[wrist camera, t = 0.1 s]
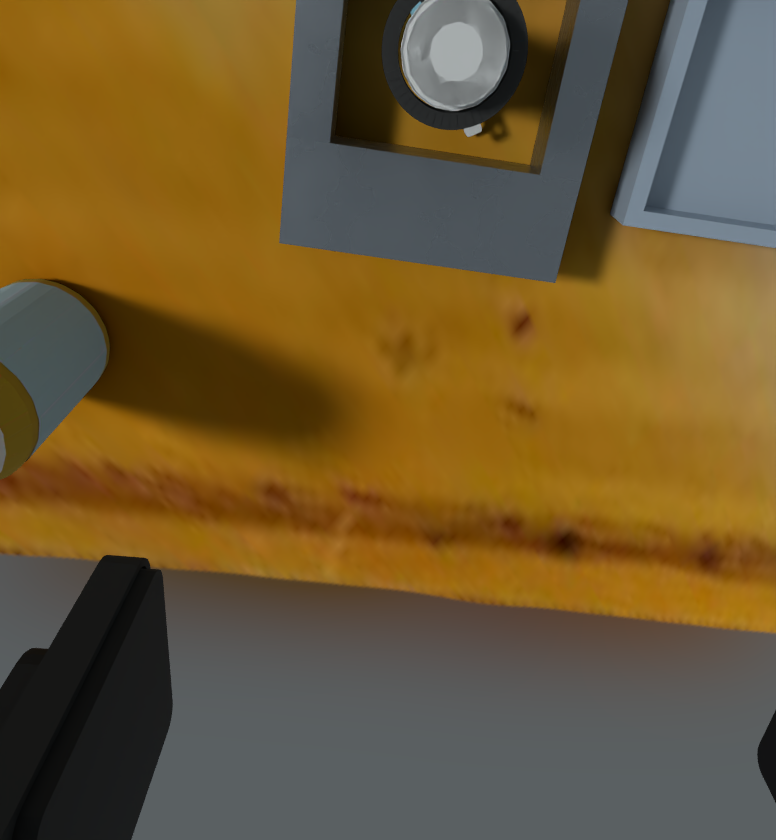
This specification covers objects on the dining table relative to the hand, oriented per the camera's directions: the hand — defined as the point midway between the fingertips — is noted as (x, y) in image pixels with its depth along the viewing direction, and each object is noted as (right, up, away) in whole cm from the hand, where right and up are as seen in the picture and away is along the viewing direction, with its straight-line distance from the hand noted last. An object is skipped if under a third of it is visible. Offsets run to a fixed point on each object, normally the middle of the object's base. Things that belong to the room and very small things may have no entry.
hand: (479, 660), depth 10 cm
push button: (+2, +21, +24) cm, 32 cm away
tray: (+17, +19, +25) cm, 35 cm away
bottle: (-21, +9, +31) cm, 38 cm away
